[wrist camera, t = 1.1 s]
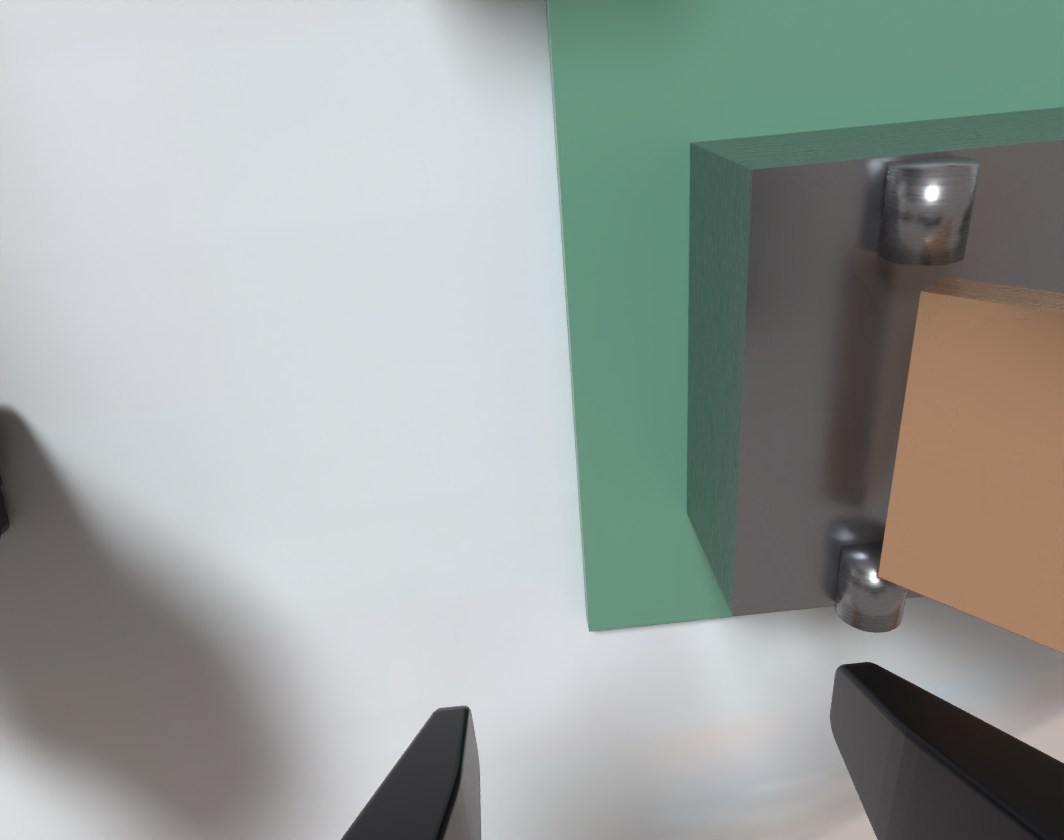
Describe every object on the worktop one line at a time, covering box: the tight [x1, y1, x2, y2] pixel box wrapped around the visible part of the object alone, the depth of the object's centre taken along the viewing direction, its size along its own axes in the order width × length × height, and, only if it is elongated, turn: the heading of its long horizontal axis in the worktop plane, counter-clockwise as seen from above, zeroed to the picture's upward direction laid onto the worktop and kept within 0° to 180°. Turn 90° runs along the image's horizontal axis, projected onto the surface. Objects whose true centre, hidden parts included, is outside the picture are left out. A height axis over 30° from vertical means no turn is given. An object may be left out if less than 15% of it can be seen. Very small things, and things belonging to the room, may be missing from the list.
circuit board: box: [546, 0, 1064, 632], centre depth 20 cm, size 20×18×1 cm
